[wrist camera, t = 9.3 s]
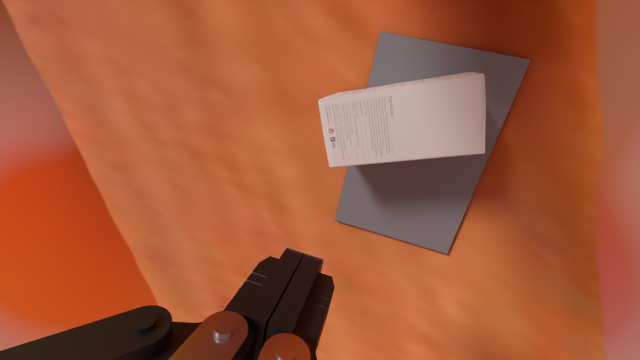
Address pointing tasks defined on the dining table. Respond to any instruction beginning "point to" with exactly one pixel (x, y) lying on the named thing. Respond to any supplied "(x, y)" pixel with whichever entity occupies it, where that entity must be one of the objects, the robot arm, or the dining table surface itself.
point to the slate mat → (427, 174)
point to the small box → (406, 121)
